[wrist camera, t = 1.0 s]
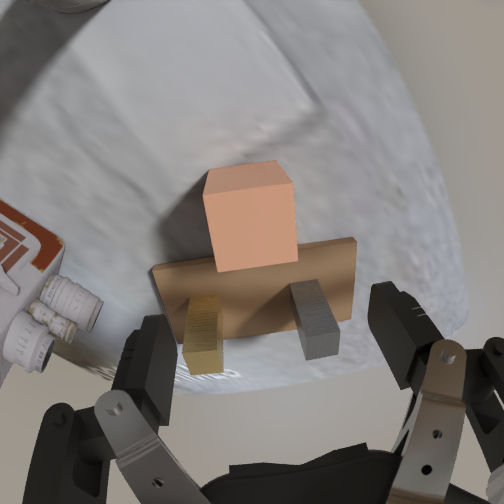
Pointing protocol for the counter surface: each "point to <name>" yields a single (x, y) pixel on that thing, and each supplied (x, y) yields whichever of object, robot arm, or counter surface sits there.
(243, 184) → the peach foam brick
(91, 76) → the counter surface
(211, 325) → the brass post
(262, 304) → the board
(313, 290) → the steel post
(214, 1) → the counter surface
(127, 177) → the counter surface
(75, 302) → the cine camera
